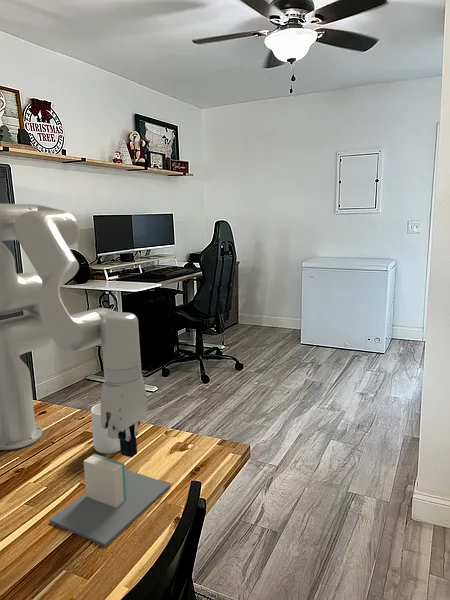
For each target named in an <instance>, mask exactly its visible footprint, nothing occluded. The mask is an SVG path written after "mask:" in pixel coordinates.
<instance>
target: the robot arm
mask: <svg viewBox="0 0 450 600" xmlns="http://www.w3.org/2000/svg"><path fill="white" fill-rule="evenodd" d="M80 234H81V231H80V225H79V223H78V221H77V219H76V218H75V217H74V216H73V214H71V213H70V212H68V211H67V210H63V209H59V208H55V207H50V206H45V205H41V204H33V203H32V204H30V203H0V316H4V315H9V314H14V313H18V312H23V315H20V316H15V317H8V318H6V319H1V320H0V451H1V450H2V451H7V450H9V451H10V450H16V449H21V448H24V447H26V446H29V445H32V444H34V443H35V442H37V441H38V440H39V439H40V438H41V437H42V435H43V427H41V425H39V424H37V423H36V420H35V408H34V401H33V399H34V398H33V397H34V396H33V388H32V378H31V372H30V368H29V367H28V365H27V364H26V362H24V361H23V360H22V359H21V355H24V354H25V353H29V352H33V351H36V350H40V349H42V348H44V347H46V346H48V345H49V344H50V342H51V341H52V340H53V342H54V343H55V345H56V346H57V347H58V348H59V349H61V350H62V351H64V352H66V353H77V352H81V351H83V350H86V349H89V348H92V347H95V346H98V345H101V348H102V349H101V350H102V351H101V352H102V362H103V375H104V381H103V383H102V385H101V392H100V393H101V394H100V403H101V426H102V428H103V429H107V428H108V434H107V437H108V438H110V439H115V438H118V439H120V454H121V455H122V456H124V457H128V458H132V459H133V457H134V456H136V455H137V454H138V445H137V444H138V443H137V437H138V434H139V427H140V424H141V423H142V422H143V421H144V420H145V418H146V415H147V414H148V399H147V391H146V390H147V389H146V384H145V381H144V376H143V373H142V362H141V361H142V359H141V358H142V357H141V346H140V345H141V344H140V331H139V329H140V328H139V319H138V317H137V316H136V314H134V313H132V312H118V311H116V310H113V309H111V308H107V307H99V308H93V309H90V310H86V311H85V310H84V311H81V312H76V313H73V314H70V313H69V311H68V310H67V308H66V306H65V305H64V303H63V300H62V298H61V292H60V290H61V287H62V286H64V285H65V284H66V283H68V282H69V281H70V280H72V279H73V278H74V277H75V275H77V273H78V271H79V269H80V264H79V262H78V260H77V258H76V257H75V255H74V254H73V251H72V250H71V248H70V246H73V245H75V244H76V243H77V242H78V240H80V239H79V238H80ZM3 241H4V242H5V241H17V242H18V243H19V245H20V246H21V248H22V249H23V251H24V253H25V255H26V256H27V258H28V260H29V261H30V263H31V265H32V266H33V268H34V269H35V272H36V273H34V272H22V273H21V272H20V273H17V270H16V261H15V257H14V256H13V253H12V252H11V250H10V249H9V248H8V247H7V245H6V244H5V243H3ZM123 431H124V432H123Z"/></svg>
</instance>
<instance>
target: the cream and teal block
mask: <svg viewBox="0 0 450 600" xmlns="http://www.w3.org/2000/svg"><path fill="white" fill-rule="evenodd" d="M125 467H126V465H125V462H122V461H118V460H115V459H111V458H108V457H106V456H102V455H99V454H96V453H93V454H92V455H90V456H89V457H87V458H86V459H84V460H83V471H84V483H85V484H84V485H85V493H86V497H89V498H92V499H94V500H97V501H100V502H102V503H105V504H108V505H110V506H113V507H116V508H117V507H118V506H119V505H120V504H122V503H123V502H124V501H125V500H126V482H125V469H126V468H125Z"/></svg>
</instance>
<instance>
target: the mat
mask: <svg viewBox="0 0 450 600" xmlns="http://www.w3.org/2000/svg"><path fill="white" fill-rule="evenodd" d="M125 482H126V500H125V501H124V502H123V503H122V504H120V505H119V506H118V507H117V508H116V507H113V506H110V505H108V504H105V503H102V502H100V501H97V500H94V499H92V498H89V497H86V492H85V493H83V494H82V495H80V496H79V497H78V498H76V499H75V500H73V501H72V502H71V503H69V504H68V505H67V506H65V507H64V508H63V509H61V510H60V511H59V512H58V513H56V514H55V515H53V516H52V517H51V518H49V523H51V524H53V525H55V526H57V527H60V528H62V529H65V531H69V532H70V533H74V534H75V535H77V536H80V537H82V538H84V539H87V540H90V541H92V542H93V543H96V544H98V545H99V546H100V545H101V546H103V547H107V546H109V544H110V543H112V542H113V541H114V540H115V539H116V538H117V537H118V536H119V535H120V534H121V533H122V532H123V531H124V530H126V529H127V527H129V526H130V525H131V524H132V523H133V522H135V521H136V519H138V518H139V516H141V515H142V514H143V513H144V512H145V511H146V510H147V509H148V508H149V507H150V506H151V505H153V504H154V503H155V502H156V501H157V500H158V499H159V498H160V497H161V496H163V494H164V493H166V492H167V491H168V490H169V489H170V488H171V487H172V483H168V482H166V481H162V480H159V479H156V478H154V477H150V476H147V475H144V474H141V473H138V472H136V471H131V470H129V469H126V468H125Z"/></svg>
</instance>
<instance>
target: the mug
mask: <svg viewBox="0 0 450 600" xmlns="http://www.w3.org/2000/svg"><path fill="white" fill-rule="evenodd" d="M90 414H91V417H90V418H91V427H92V431H91V432H92V441H93V442H92V443H93V449H94V450H95V452H98V453H101V454H107V455H108V454H114V453H119V452H121V450H120V439H118V438H115V439H110V438H108V437H107V434H108V428H107V429H103V428H102V426H101V402H99V403H97V404H94V405H93V406H92V407H91V409H90ZM123 432H124V431H123Z"/></svg>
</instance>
